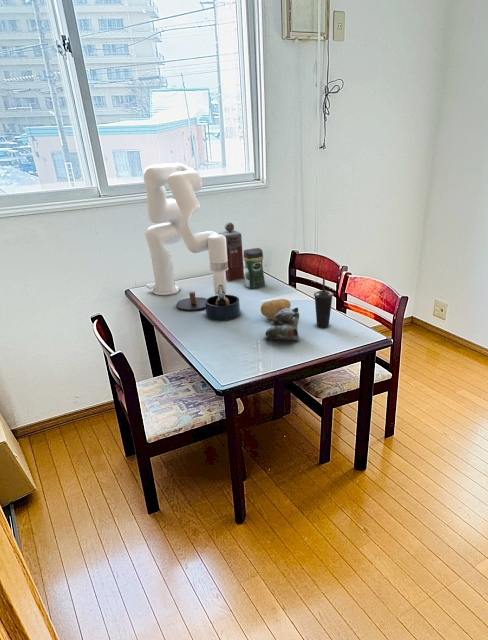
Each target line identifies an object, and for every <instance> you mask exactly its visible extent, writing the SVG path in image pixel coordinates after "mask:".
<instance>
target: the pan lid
mask: <svg viewBox="0 0 488 640" xmlns="http://www.w3.org/2000/svg"><path fill="white" fill-rule="evenodd" d="M188 293H189V297H187V298H182V299H180V300H178V301H177V302H176V305H175V306H176V308H177V309H179V310H181V311H182V310H183V311H199V310H202V309H206V306H205V300H206V299H207V298H206V297H201V296H200V297H199V296H196V291H189V292H188Z"/></svg>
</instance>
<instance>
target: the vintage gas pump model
mask: <svg viewBox="0 0 488 640" xmlns="http://www.w3.org/2000/svg"><path fill="white" fill-rule="evenodd" d="M218 234H221V235H224V236H225V237H226V245H227V258H228V270H226V281H228V282H233V281H239V280H243V279H244V280H245V269H244V258H243V255H244V252H243V240H242V239H243V238H242V237H243V236H242V233H241V232H240V231H237V230H235V225H234V224H233V223H232V222H230V221H229V222H226V223H225V224H224V230H223V231H218Z"/></svg>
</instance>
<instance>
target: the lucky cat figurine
mask: <svg viewBox="0 0 488 640" xmlns="http://www.w3.org/2000/svg"><path fill="white" fill-rule="evenodd" d="M299 319H300V312H299V307H294V308H291V307H290V308H286V309H282V310H281V311H280V312H278V313H277V314H276V315H275V316H274V319H273V321H272V324H271V325H270V326H269V327H268V328H267V329H266V331H265V332H264V333H265V334H264V335H265V336H264V337H263V340H264V339H265V340H266V341H267V340H287V341H295V342H297V341H298V340H299V338H300V336H299V335H300V334H299V329H298V324H299Z"/></svg>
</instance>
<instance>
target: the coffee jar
mask: <svg viewBox="0 0 488 640" xmlns="http://www.w3.org/2000/svg"><path fill="white" fill-rule="evenodd" d="M263 253H264V252H263V249H262V248H260V247H255V248H248V249H244V250H243V262H244V264H245V269H244V285H245V287H246V288H248V289H258V288H262V287H264V286H266V280H265V274H264V267H263V261H264V254H263Z"/></svg>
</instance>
